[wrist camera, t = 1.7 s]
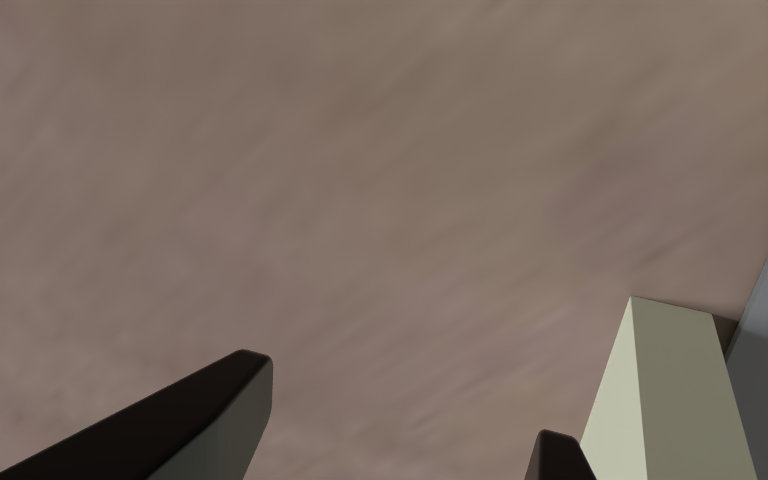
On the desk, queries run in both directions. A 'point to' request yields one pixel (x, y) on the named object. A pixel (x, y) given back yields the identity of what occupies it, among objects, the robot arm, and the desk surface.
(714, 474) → the pale smooth panel
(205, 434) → the robot arm
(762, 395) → the desk mat
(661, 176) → the desk surface
